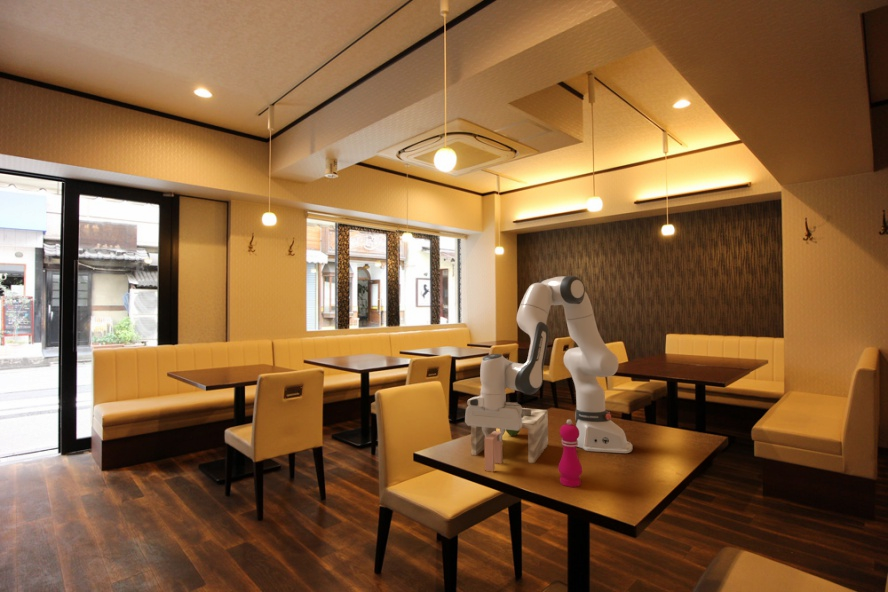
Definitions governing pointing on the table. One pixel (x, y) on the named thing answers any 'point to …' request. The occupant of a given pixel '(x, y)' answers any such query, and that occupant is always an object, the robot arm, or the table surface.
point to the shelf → (532, 421)
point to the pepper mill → (570, 456)
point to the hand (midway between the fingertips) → (493, 440)
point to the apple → (512, 431)
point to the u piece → (492, 451)
